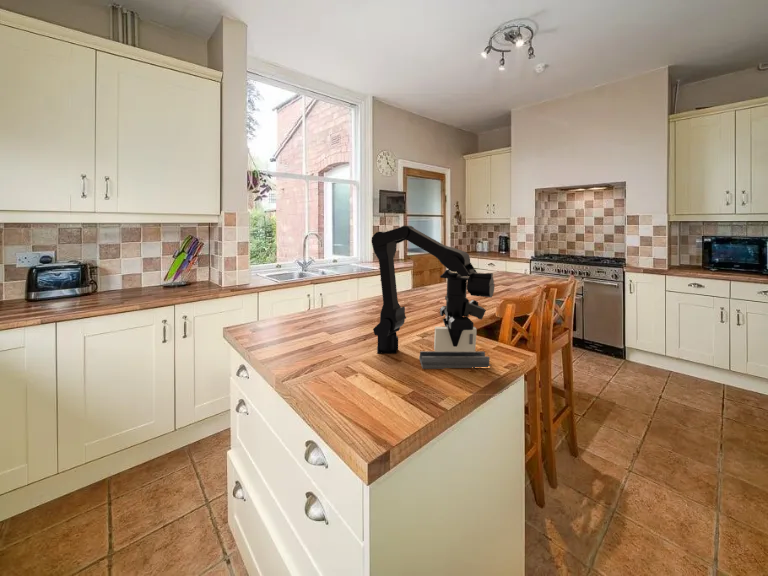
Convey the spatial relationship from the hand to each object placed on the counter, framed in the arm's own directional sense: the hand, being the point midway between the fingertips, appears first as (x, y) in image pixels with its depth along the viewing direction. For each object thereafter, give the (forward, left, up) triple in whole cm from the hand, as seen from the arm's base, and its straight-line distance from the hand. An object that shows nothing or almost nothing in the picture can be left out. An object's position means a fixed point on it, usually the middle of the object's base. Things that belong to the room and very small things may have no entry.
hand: (454, 344), depth 107 cm
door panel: (0, 0, -2) cm, 2 cm away
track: (0, 0, -6) cm, 6 cm away
